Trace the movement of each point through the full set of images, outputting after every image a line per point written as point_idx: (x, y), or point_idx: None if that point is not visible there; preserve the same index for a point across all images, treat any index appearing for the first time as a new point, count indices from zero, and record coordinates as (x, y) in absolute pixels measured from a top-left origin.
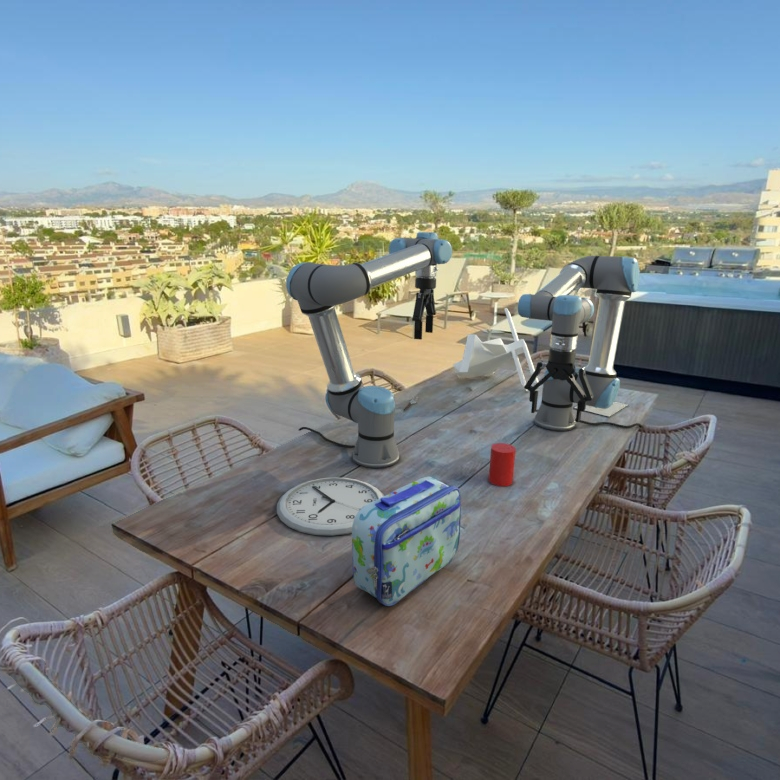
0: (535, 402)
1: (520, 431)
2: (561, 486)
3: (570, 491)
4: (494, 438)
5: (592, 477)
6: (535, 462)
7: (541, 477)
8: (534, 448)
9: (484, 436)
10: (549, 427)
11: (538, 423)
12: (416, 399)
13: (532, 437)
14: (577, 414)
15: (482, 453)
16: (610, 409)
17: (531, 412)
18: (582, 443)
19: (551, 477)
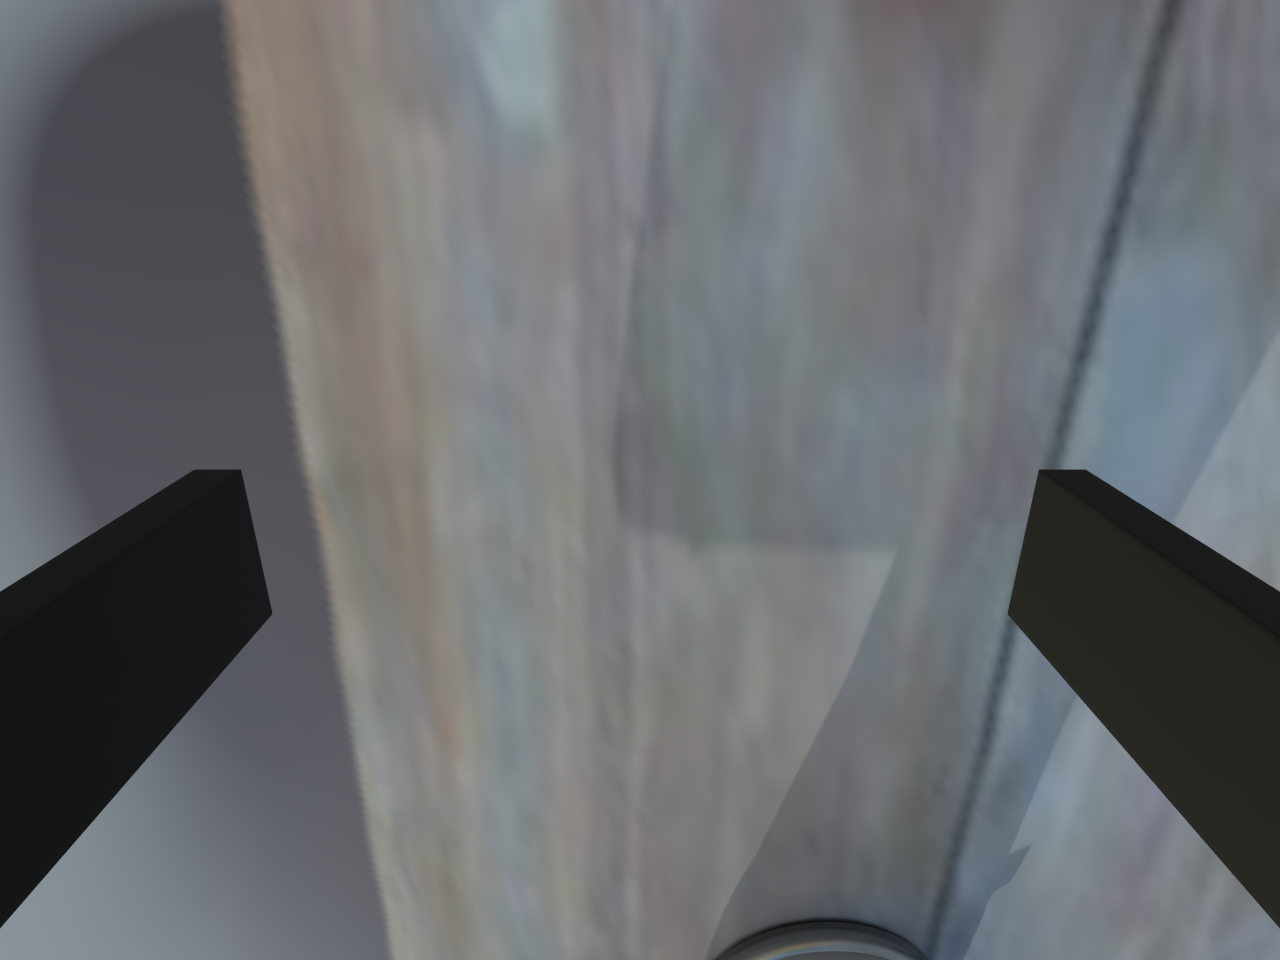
0: (1154, 639)
1: (992, 822)
2: (458, 83)
3: (364, 31)
4: None
5: (336, 399)
6: (771, 406)
7: (650, 156)
8: (840, 628)
9: None
10: (826, 936)
11: (906, 955)
12: None
13: (895, 778)
14: (122, 537)
15: (1209, 320)
16: None
17: (1082, 471)
18: (583, 848)
19: (582, 208)
